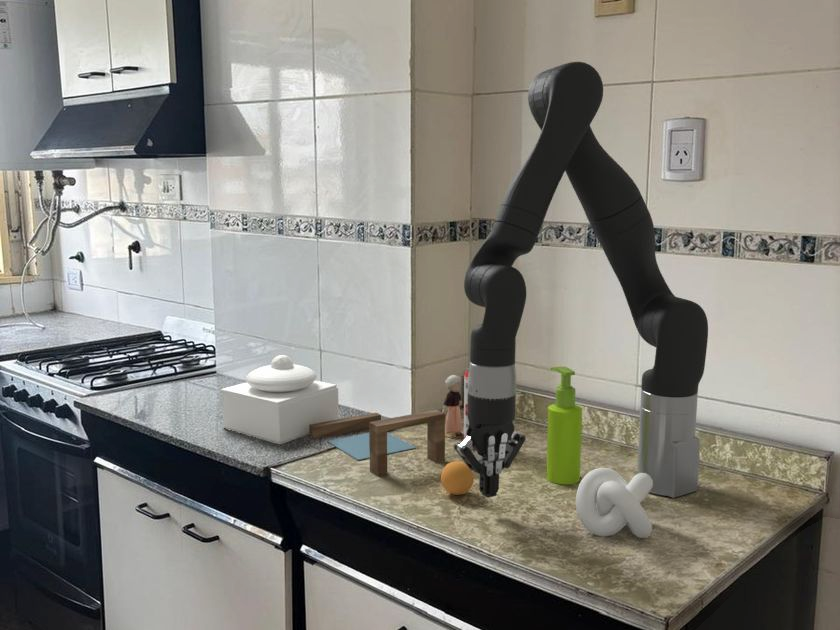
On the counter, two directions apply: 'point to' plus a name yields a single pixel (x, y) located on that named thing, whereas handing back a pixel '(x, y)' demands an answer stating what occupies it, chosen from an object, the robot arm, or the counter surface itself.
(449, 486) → the ball
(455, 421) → the grandmother figurine
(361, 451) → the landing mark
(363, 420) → the wall
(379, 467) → the bridge
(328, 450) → the counter surface
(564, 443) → the soap dispenser
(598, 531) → the white knot
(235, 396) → the white lidded dish
